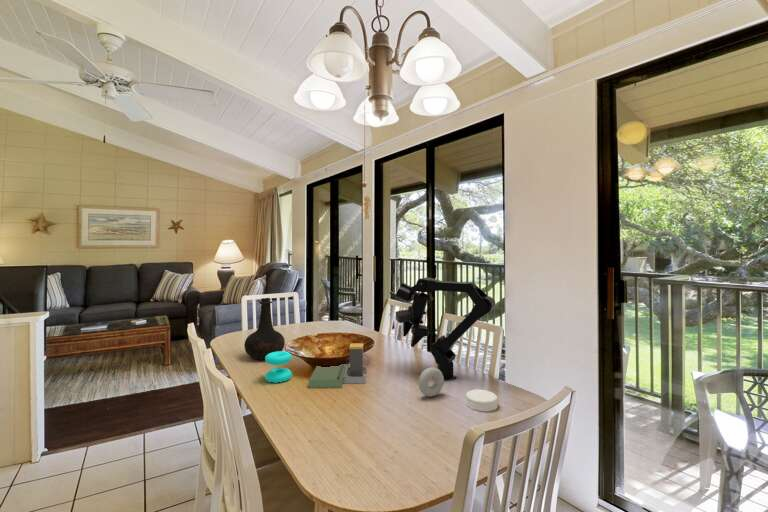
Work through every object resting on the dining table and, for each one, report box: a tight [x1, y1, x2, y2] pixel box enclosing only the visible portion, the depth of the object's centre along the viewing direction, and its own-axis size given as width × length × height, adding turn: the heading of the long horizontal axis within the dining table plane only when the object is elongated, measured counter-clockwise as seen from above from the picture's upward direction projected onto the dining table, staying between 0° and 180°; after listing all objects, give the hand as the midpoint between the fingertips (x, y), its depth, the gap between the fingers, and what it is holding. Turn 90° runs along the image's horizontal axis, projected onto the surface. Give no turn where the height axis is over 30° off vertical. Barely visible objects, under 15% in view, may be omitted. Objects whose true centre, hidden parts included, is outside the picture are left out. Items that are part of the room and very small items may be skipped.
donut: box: [418, 366, 445, 398], centre depth 125 cm, size 10×4×10 cm, turn 118°
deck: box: [308, 363, 368, 389], centre depth 143 cm, size 20×20×4 cm
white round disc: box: [465, 389, 499, 413], centre depth 118 cm, size 10×10×4 cm
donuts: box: [264, 350, 293, 384], centre depth 142 cm, size 10×10×10 cm
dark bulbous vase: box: [244, 297, 286, 360], centre depth 170 cm, size 18×18×28 cm
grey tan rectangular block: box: [348, 342, 364, 376], centre depth 143 cm, size 5×5×13 cm
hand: (408, 341), depth 151 cm, fingers open, 9 cm apart
